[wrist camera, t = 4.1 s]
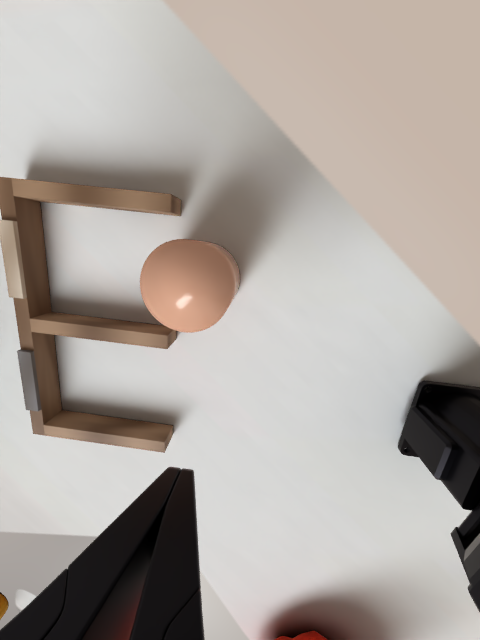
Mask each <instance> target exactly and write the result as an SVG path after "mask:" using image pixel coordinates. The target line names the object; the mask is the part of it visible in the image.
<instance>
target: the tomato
mask: <svg viewBox="0 0 480 640" xmlns="http://www.w3.org/2000/svg"><path fill="white" fill-rule="evenodd" d="M274 640H328V639H326V638H325V637H323V636H322V635H320V634H319V633H317V632H316V631H314V630H313V631H309V632H305V633H301V634H299V635H298V636H296V637H294V638H290V637H286V636H281V637H279V638H276V639H274Z"/></svg>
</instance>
